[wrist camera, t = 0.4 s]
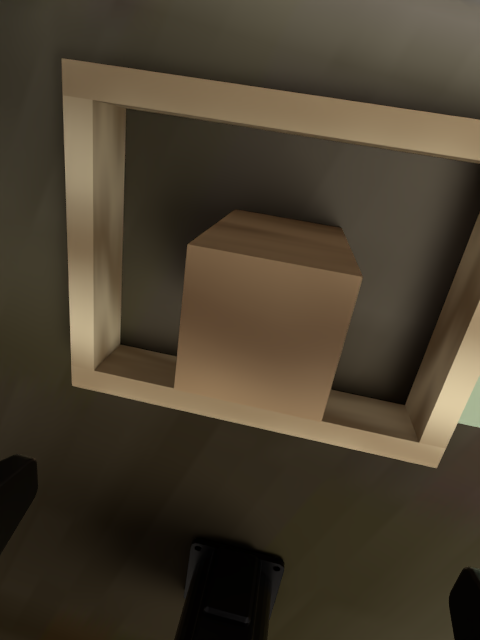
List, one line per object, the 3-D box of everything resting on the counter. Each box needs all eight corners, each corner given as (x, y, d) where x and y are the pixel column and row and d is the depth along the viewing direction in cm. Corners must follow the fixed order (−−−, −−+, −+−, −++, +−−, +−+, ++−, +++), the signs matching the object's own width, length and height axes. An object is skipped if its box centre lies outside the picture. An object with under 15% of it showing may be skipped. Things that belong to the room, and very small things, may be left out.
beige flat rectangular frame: (420, 428, 21) (436, 468, 19) (100, 358, 23) (72, 385, 20) (541, 139, 16) (590, 136, 13) (100, 73, 17) (61, 58, 14)
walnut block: (317, 325, 20) (321, 422, 13) (222, 306, 21) (173, 389, 13) (341, 227, 18) (362, 277, 11) (235, 208, 19) (187, 244, 11)
